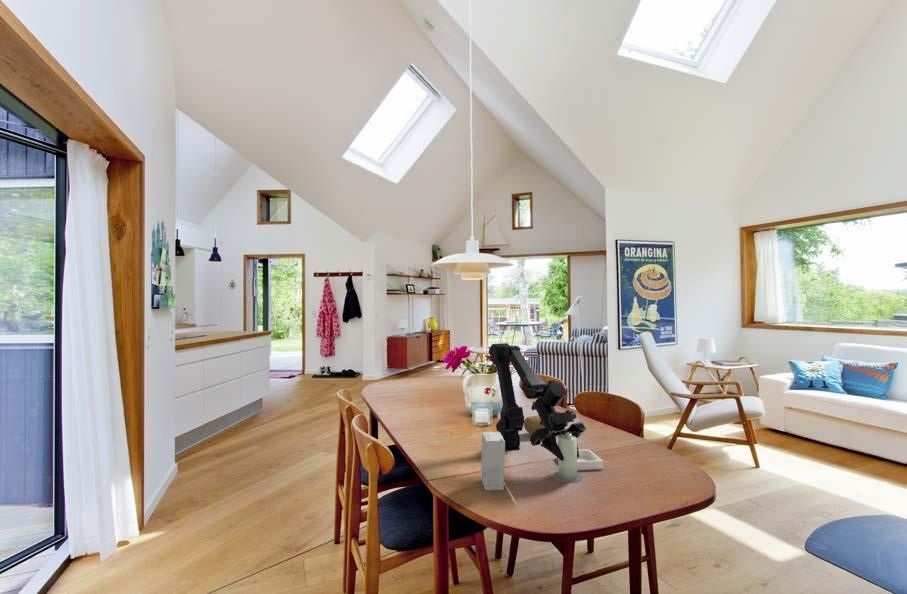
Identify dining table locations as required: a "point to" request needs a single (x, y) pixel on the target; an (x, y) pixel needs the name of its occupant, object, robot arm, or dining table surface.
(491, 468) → the skincare box
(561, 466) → the pebble cup
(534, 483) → the dining table surface
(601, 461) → the stoneware dish
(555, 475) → the slate coaster
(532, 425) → the potato
